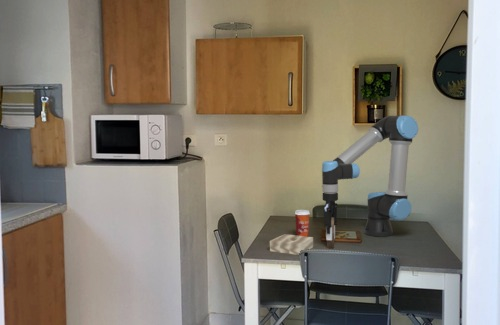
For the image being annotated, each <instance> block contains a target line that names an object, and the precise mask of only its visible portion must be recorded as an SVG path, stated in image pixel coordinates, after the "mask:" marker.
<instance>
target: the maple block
mask: <svg viewBox="0 0 500 325" xmlns="http://www.w3.org/2000/svg"><path fill="white" fill-rule="evenodd" d="M313 248H314V237H313V236H308V237H306V236H297V234H296V235H295V234H287V233H284V234H282V235H280V236H277V237H275V238H273V239H271V240H269V251H270V252H273V253H282V254H288V255H296V256H297V255H298V256H300V255H299V253H300V251H301V250H305V249H309V250H311V249H313Z"/></svg>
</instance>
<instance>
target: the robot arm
mask: <svg viewBox="0 0 500 325" xmlns="http://www.w3.org/2000/svg"><path fill="white" fill-rule="evenodd" d="M418 125H419V124H418V122H417V121H416V120H415V118H414V117H413V116H410V115H388V116H385V117H383V118H381V119H380V120H379V121H377V122H376V123H374V124H372V126H370V127H369V129H368V131H367V132H366V133H365V134H363V135H362V136H361V137H360V138H358V139H357V140H356V141H355V142H354V143H353V144H351V145H350V146H349V147H348V148H346V149H345V150H344V151H343V152H342V153H341V154H339V155H338V156H336V158H334V159H333V160H324V161H323V162H322V167H321V178H322V180H321V182H322V183H321V184H322V185H321V188H322V200H323V201H325V205H324V207H322V211H323V227H324V228H326V229H325V231H326V232H325V236H326V239H325V240H326V241H327V240H331V241H332V227H331V219H332V217H334V240H335V239H336V226H337V225H338V224H337V221H338V218H337V215H338V203H336V201H338V200H339V193H338V192H339V180H353V179H357V178H358V177H360V175H361V174H360V173H361V171H360V166H359V165H358V164H357V163H354V162H356V160H359V158H360V157H362V156H363V155H364V154H366V152H367V151H369V150H370V149H371V148H372V147H374V146H376V144H377V143H382V142H383V141H384V140H386V139H388V142H389V143H390V144H391V150H390V158H389V161H390V162H389V173H388V186H387V190H386V191H376V192H375V191H373V192H370V193H368V194H367V221H366V223H365V226H364V231H363V232H364V234H365V235H367V236H371V237H390V236H393V234H394V232H393V231H394V230H393V227H392V226H393V225H392V224H391V221H390V219H391V220H393V221H404V220H405V219H407V218H408V217H409V216H410V214H411V212H412V204H411V202H410V200H408V193H407V192H406V182H407V171H408V161H409V160H408V159H409V148H410V147H409V146H410V145H411V144H412V143H413V139H414V138H416V136H417V134H418V132H419V126H418Z"/></svg>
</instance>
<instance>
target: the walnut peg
mask: <svg viewBox="0 0 500 325" xmlns="http://www.w3.org/2000/svg"><path fill="white" fill-rule="evenodd" d="M331 227H332V241H331V240H326V247H327V249H334V248H335V239H334V217H332V219H331Z"/></svg>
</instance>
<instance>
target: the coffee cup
mask: <svg viewBox="0 0 500 325" xmlns="http://www.w3.org/2000/svg"><path fill="white" fill-rule="evenodd" d="M294 215H295V216H294V217H295V230H296V235H297V236H306V237H309V235H310V234H309V233H310V232H309V229H310V215H311V213H310V210H309V209H297V210H295V212H294Z"/></svg>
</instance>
